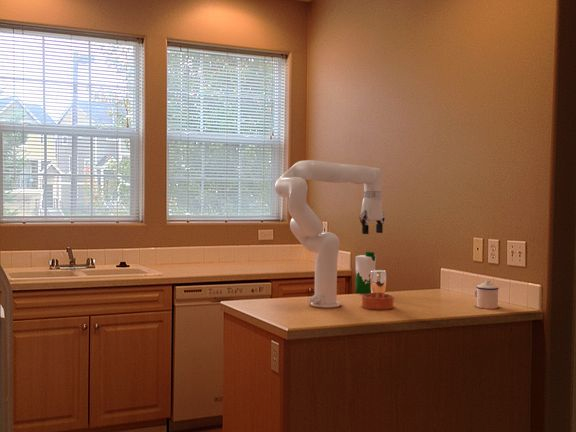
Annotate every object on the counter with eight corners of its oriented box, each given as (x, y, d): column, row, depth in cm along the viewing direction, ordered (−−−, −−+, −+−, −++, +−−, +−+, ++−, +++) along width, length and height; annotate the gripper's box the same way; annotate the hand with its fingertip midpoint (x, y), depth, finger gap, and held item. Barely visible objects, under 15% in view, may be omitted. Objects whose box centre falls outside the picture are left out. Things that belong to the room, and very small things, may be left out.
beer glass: (381, 308, 274) (382, 272, 274) (366, 306, 278) (367, 271, 277) (388, 305, 280) (389, 270, 280) (373, 304, 284) (374, 269, 283)
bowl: (380, 311, 270) (380, 299, 270) (355, 307, 279) (355, 295, 279) (399, 307, 279) (399, 296, 279) (374, 303, 288) (374, 292, 288)
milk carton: (370, 295, 312) (370, 253, 311) (352, 293, 317) (353, 251, 316) (377, 292, 320) (378, 251, 319) (360, 291, 324) (360, 250, 323)
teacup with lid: (502, 308, 280) (503, 281, 280) (486, 309, 276) (487, 282, 276) (482, 303, 291) (483, 277, 290) (466, 305, 287) (467, 278, 286)
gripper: (378, 195, 304) (378, 232, 305) (353, 195, 292) (353, 234, 293) (391, 195, 298) (391, 232, 299) (366, 195, 287) (366, 234, 287)
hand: (372, 233), depth 296 cm, fingers open, 9 cm apart
